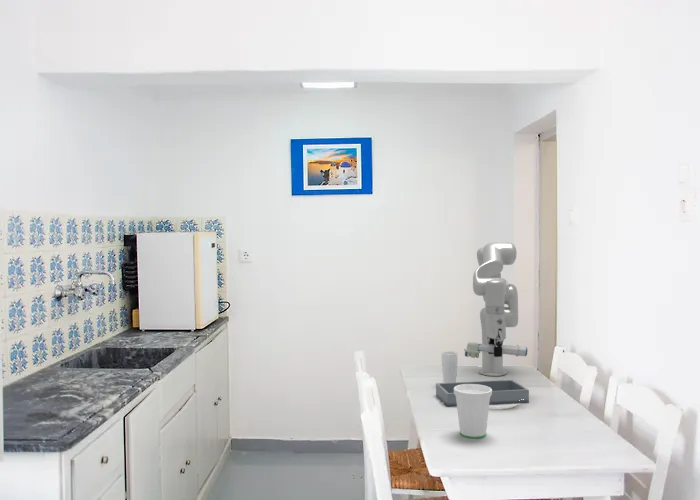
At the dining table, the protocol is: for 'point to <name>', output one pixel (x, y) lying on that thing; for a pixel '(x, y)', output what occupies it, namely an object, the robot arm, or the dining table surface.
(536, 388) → the dining table surface
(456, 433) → the dining table surface
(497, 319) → the robot arm
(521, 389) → the bin
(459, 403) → the cup
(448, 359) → the drinking glass
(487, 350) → the white electric toothbrush
